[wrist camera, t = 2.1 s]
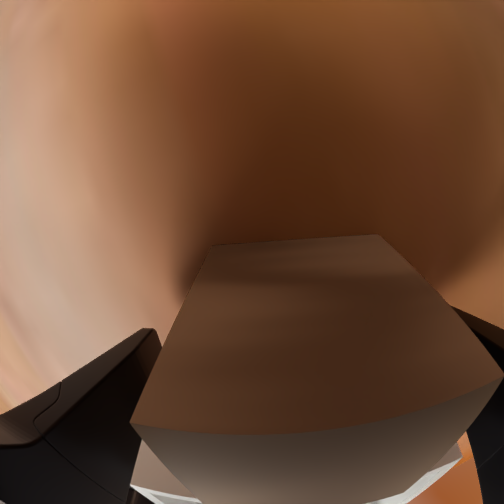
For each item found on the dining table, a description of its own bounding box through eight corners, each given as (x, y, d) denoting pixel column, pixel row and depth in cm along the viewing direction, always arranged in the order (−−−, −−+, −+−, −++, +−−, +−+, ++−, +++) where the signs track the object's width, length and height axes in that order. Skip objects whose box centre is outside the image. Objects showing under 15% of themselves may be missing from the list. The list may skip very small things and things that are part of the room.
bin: (205, 488, 17) (198, 528, 12) (151, 414, 12) (126, 483, 8) (377, 477, 15) (385, 516, 11) (434, 392, 11) (462, 456, 6)
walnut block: (234, 366, 10) (213, 512, 4) (212, 244, 8) (129, 422, 3) (361, 356, 10) (403, 492, 4) (377, 233, 8) (504, 375, 2)
